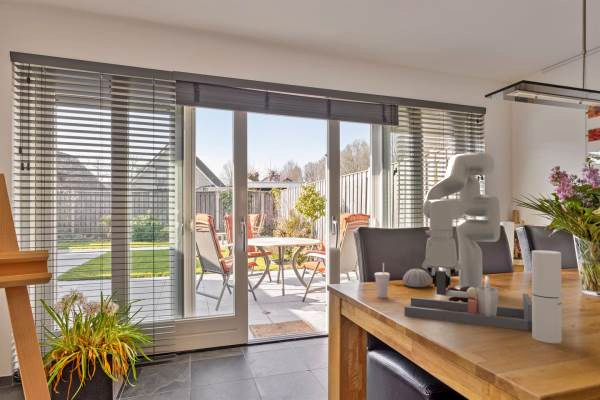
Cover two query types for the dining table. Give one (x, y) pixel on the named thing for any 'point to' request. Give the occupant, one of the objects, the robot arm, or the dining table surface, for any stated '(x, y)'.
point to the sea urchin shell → (417, 278)
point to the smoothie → (382, 283)
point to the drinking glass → (481, 300)
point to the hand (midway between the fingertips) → (441, 286)
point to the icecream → (463, 289)
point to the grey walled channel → (471, 317)
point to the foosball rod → (456, 292)
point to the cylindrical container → (546, 296)
